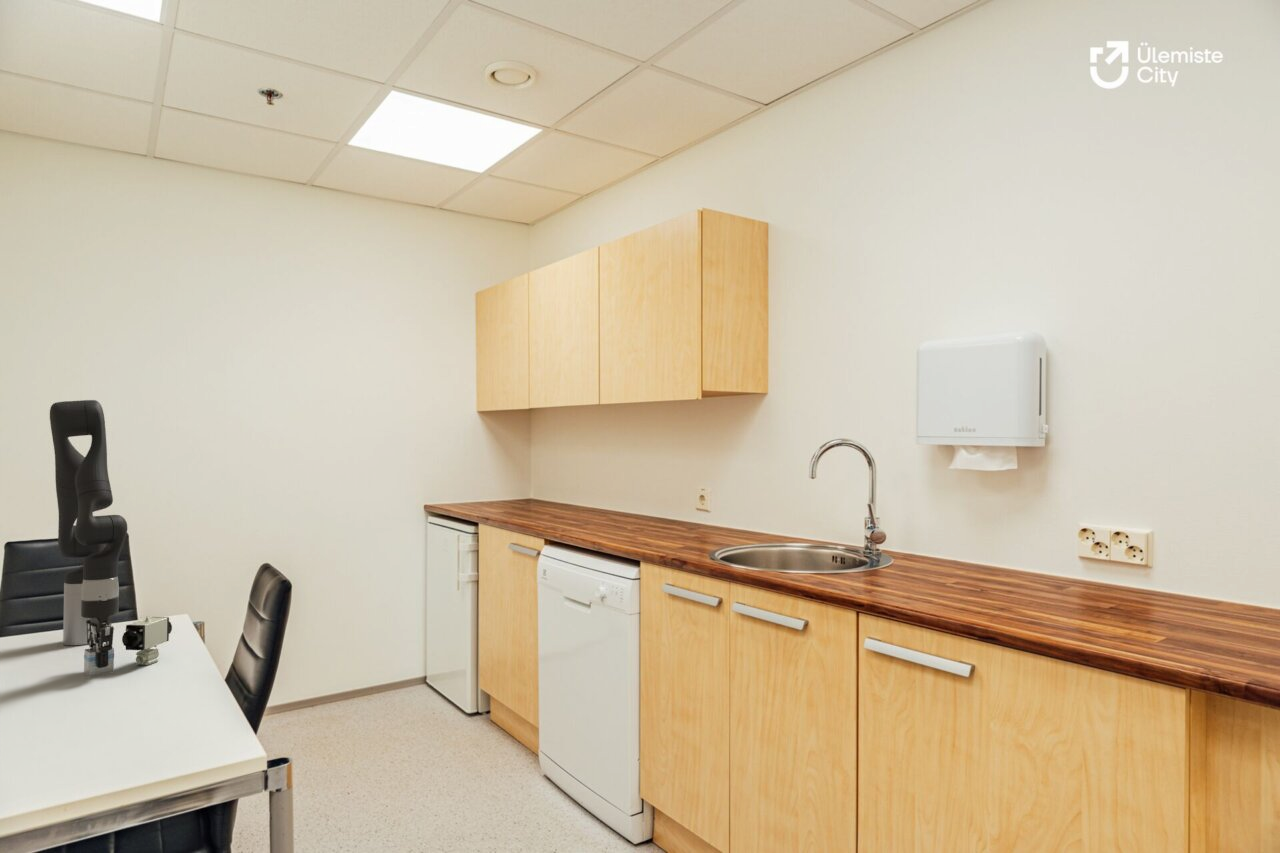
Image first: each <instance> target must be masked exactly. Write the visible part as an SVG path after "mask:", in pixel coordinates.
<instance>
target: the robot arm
mask: <svg viewBox="0 0 1280 853" xmlns="http://www.w3.org/2000/svg"><path fill="white" fill-rule="evenodd" d="M105 419H106V418H105V413H104V409H103V407H102V405H101V403H100V402H99V401H98V400H96V399H85V400H81V399H80V400H70V401H68V400H67V401H66V400H65V401H58V402H54V403H52V405H51V406H50V409H49V423H50V432H51V437H52V442H53V450H54V452H53V453H54V466H55V467H54V468H55V472H54V473H55V474H54V475H55V476H54V477H55V490H56V499H57V509H58V538H57V540H58V541H57V542H58V543H57V545H58V546H57V548H58V552H59V555H60V556H61V558H64V559H78V558H79V559H82V558H83V562H82V566H80V567H77V568H75V569H72V570H69V571H67V572H65V574H64V578H63V580H64V583H63V624H62V625H63V631H62V632H63V634H62V643H63V645H65V646H81V645H88V647H89V649H91V648H93V645H96V648H97V650H96V651H97V667H98V668H102V667H107V666H108V651H110V650H112V648H113V644H114V643H113V640H114V630H115V628H114V626H112V622H111V621H110V619H109V618H110V617H111V616H115V615H117V614H118V612H119V608H120V607H119V605H120V604H119V603H120V601H119V600H120V599H119V598H120V589H119V588H120V586H119V585H120V584H119V558H120V555H121V551H122V548H123V544H124V542H125V540H126V537H127V534H128V523H127V520H126V518H124V517H123V516H122V515H119V514H109V515H108V514H107V515H94V512H98V511H101V510H104V509H108V508H109V507H110V506H112V504H113V502H114V501H113V500H114V497H113V493H112V487H111V483H110V478H109V477H110V476H109V471H108V449H107V448H108V447H107V444H108V443H107V432H106V421H105ZM82 436H83V437H85V436H91V441H90V442H91V443H90V447H89V449H88V451H87V453H86V454H85V456H84V455H83V454H82V453H80V452H79V451H78V450H77V449H76V447H75V446H74V445H73V444H72V442H71V441H70V439H69V438H72V437H82ZM103 644H106V646H103Z"/></svg>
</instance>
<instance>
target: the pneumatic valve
mask: <svg viewBox="0 0 1280 853" xmlns="http://www.w3.org/2000/svg"><path fill="white" fill-rule="evenodd" d="M172 630H173V625H172V623H171V622H170V617H169V616H168V617H167V616H166V617H165V616H152V617H151V616H146V617H145V619H142V620H137V621H134V622H132V623H129V624H125V632H123V634H122V638H121V642H122V645H123V646H124V647H125V650H126V651H137V652H136V653H135V655H136V657H135V665H137V666H140V665H145V666H149V665H153V664H154V663H157V662H159V658H158V657H159V655H160V652H159V649H158V648H157V646H159V645H160V644H163V643H167V642H169V641H170V640H169V639H170V638H169V637H170V634H171V632H172Z"/></svg>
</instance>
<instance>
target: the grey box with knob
mask: <svg viewBox="0 0 1280 853" xmlns="http://www.w3.org/2000/svg"><path fill="white" fill-rule="evenodd" d="M103 646H106V643H103ZM96 650H97V648H96V645H93V648H91V649H90V648H85V649H84V655H83V660H84V662H83V663H84V666H83V674H84V675H86V676H87V677H88V678H91V677H96V676H100V675H101V676H102V675H106V674H110V673H111V674H112V673H114V672H115V671H114V670H115V668H114V667H115V661H114V660H115V648H114V647H112V650H110V651H108V666H107V667H102V668H98V667H97V651H96Z"/></svg>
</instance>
